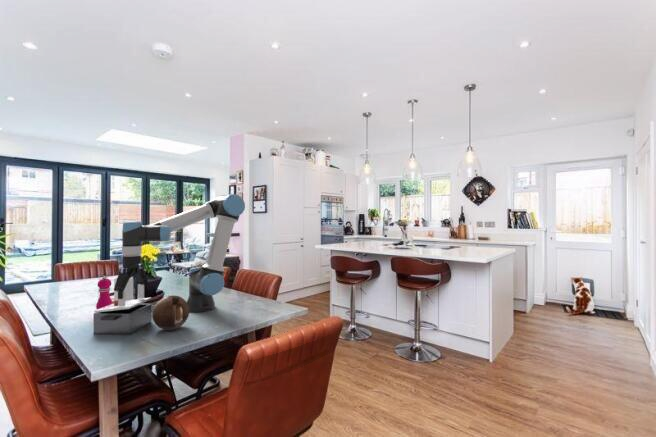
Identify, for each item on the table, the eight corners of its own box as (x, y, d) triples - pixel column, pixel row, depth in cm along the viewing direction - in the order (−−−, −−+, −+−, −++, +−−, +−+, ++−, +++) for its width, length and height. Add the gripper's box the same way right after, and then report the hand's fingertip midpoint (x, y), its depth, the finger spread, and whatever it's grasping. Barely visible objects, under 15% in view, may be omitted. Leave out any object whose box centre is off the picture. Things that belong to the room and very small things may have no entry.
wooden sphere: (152, 326, 150) (152, 294, 150) (187, 321, 158) (187, 290, 158) (152, 337, 137) (152, 301, 137) (191, 331, 145) (191, 297, 145)
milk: (114, 316, 166) (113, 273, 166) (124, 313, 172) (123, 271, 171) (123, 317, 164) (123, 273, 164) (133, 313, 170) (133, 271, 170)
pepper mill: (104, 316, 165) (104, 277, 165) (92, 315, 167) (92, 276, 166) (116, 312, 172) (116, 274, 172) (104, 311, 174) (104, 274, 174)
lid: (151, 299, 156) (151, 293, 156) (129, 308, 140) (128, 302, 140) (120, 302, 157) (119, 296, 157) (94, 312, 140) (93, 306, 140)
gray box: (154, 321, 158) (154, 302, 158) (126, 336, 138) (125, 315, 138) (122, 320, 159) (122, 302, 159) (89, 336, 138) (89, 315, 138)
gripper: (140, 252, 161) (140, 295, 161) (104, 258, 136) (103, 309, 136) (155, 252, 160) (155, 295, 160) (121, 258, 135) (121, 309, 136)
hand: (131, 302), depth 148 cm, fingers open, 13 cm apart
